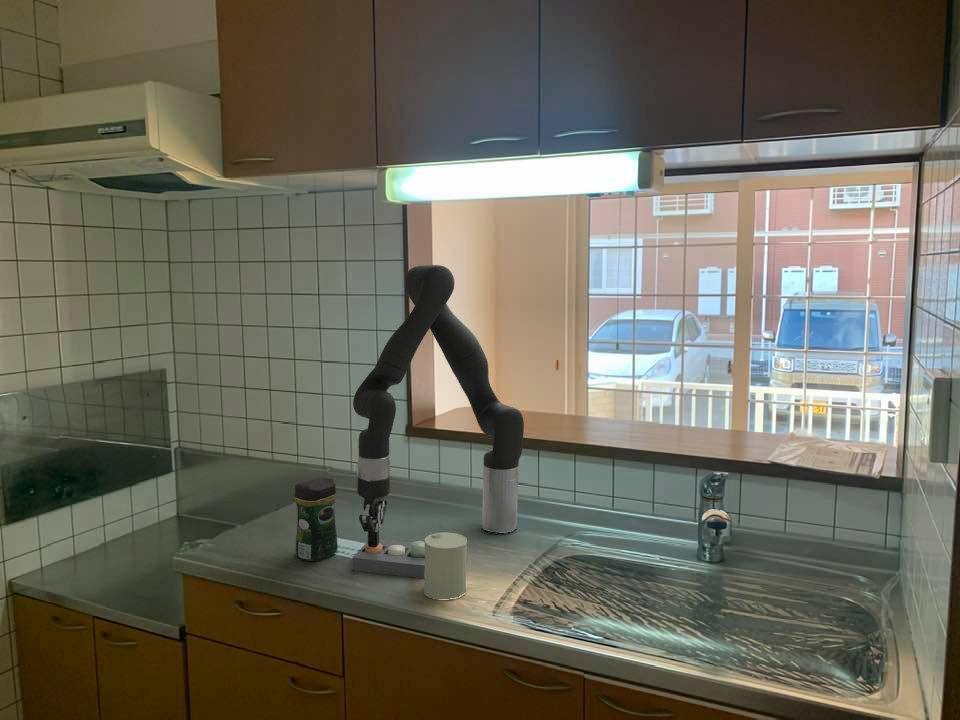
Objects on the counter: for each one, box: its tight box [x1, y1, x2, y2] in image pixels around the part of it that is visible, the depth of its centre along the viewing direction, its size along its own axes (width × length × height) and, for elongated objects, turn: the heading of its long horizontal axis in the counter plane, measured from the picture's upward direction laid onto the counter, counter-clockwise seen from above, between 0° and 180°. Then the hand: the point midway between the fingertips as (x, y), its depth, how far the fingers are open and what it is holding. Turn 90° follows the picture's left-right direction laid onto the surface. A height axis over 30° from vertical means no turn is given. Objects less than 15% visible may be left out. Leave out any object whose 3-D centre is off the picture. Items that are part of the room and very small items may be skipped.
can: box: [423, 531, 468, 600], centre depth 158 cm, size 9×9×12 cm
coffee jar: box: [294, 475, 339, 562], centre depth 175 cm, size 10×8×19 cm
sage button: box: [410, 540, 425, 559], centre depth 171 cm, size 4×4×3 cm
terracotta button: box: [364, 543, 383, 554], centre depth 173 cm, size 4×4×3 cm
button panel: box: [351, 538, 425, 579], centre depth 172 cm, size 12×17×3 cm
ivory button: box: [388, 545, 405, 556], centre depth 172 cm, size 4×4×3 cm
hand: (373, 545), depth 173 cm, fingers closed
